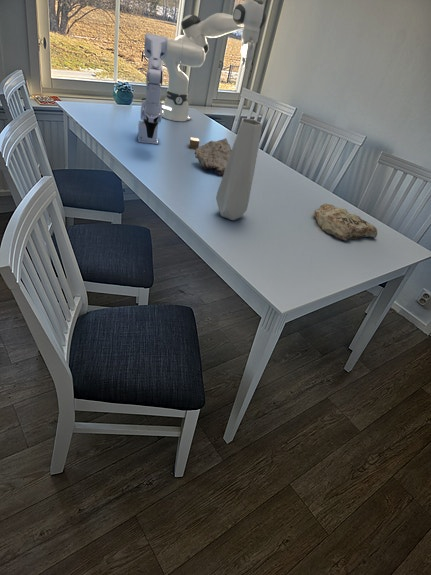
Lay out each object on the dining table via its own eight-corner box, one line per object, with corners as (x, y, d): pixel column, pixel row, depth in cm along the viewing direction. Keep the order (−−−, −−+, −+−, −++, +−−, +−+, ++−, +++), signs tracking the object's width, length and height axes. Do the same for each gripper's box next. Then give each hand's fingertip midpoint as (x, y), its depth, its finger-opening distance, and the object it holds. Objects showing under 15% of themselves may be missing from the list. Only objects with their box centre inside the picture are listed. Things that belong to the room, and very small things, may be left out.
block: (198, 149, 188) (199, 141, 185) (189, 148, 187) (190, 139, 184) (197, 146, 191) (198, 138, 188) (189, 145, 190) (190, 137, 188)
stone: (347, 232, 131) (303, 198, 147) (341, 246, 135) (298, 211, 150) (382, 227, 141) (337, 195, 156) (375, 240, 144) (331, 207, 160)
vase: (253, 221, 137) (278, 128, 117) (226, 224, 131) (248, 127, 111) (236, 206, 144) (257, 116, 124) (210, 208, 139) (227, 114, 119)
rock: (234, 142, 173) (214, 126, 161) (245, 170, 166) (225, 155, 155) (210, 161, 180) (189, 148, 168) (219, 189, 174) (199, 176, 162)
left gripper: (161, 107, 152) (159, 141, 160) (163, 99, 163) (160, 131, 171) (144, 104, 150) (142, 139, 159) (146, 96, 162) (144, 128, 170)
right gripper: (259, 40, 190) (252, 71, 198) (252, 36, 206) (246, 64, 214) (247, 38, 189) (241, 69, 197) (241, 33, 205) (236, 62, 213)
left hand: (150, 134), depth 165 cm, fingers open, 7 cm apart
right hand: (244, 66), depth 206 cm, fingers open, 8 cm apart
